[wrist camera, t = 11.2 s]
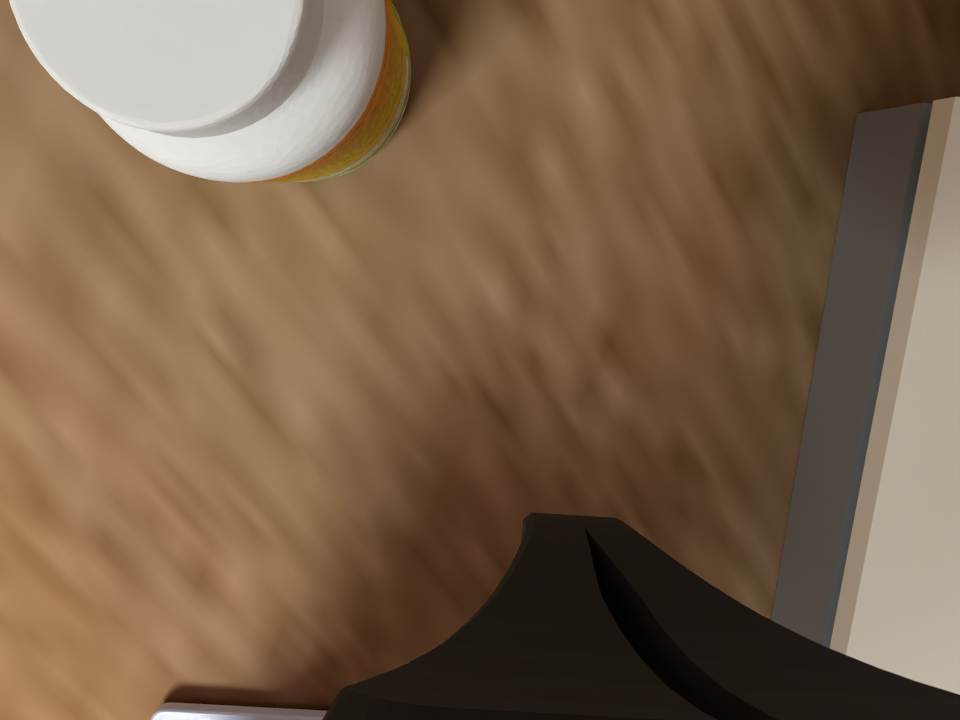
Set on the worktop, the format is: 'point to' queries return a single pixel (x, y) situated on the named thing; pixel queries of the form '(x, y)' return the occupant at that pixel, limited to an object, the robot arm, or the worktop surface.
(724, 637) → the robot arm
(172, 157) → the supplement bottle
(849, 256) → the cable duct
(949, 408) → the panel
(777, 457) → the worktop surface
